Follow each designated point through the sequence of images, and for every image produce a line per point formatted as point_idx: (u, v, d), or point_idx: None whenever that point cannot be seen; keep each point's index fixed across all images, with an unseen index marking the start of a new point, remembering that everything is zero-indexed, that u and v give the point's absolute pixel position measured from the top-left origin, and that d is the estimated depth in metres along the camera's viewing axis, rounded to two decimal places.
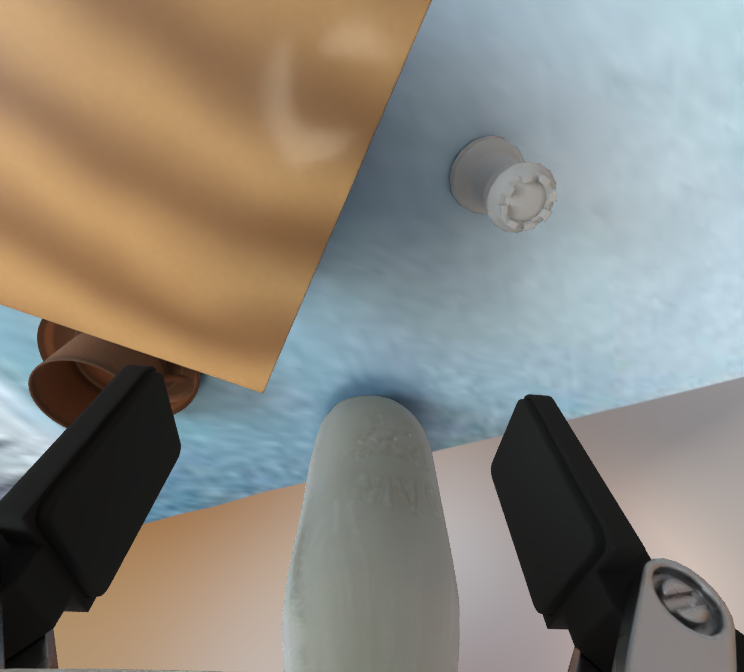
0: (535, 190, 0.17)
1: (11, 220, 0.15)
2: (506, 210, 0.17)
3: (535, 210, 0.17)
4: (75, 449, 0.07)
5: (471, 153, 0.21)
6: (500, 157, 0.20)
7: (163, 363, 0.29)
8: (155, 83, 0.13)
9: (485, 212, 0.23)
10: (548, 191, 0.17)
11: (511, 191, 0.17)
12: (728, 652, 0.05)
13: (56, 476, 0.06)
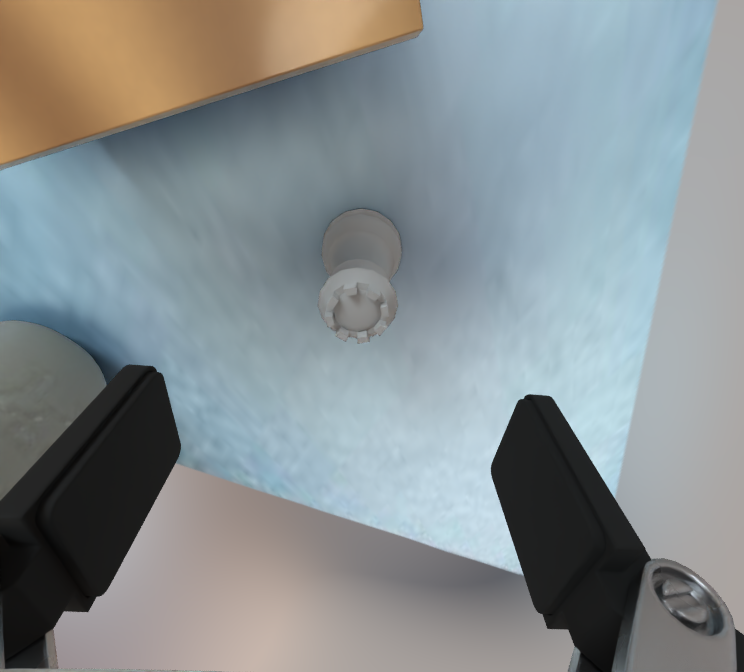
0: (372, 311, 0.15)
1: None
2: (334, 304, 0.14)
3: (359, 326, 0.15)
4: (75, 449, 0.07)
5: (364, 220, 0.18)
6: (379, 249, 0.18)
7: None
8: None
9: None
10: (381, 322, 0.15)
11: (351, 293, 0.14)
12: (728, 651, 0.05)
13: (56, 476, 0.06)
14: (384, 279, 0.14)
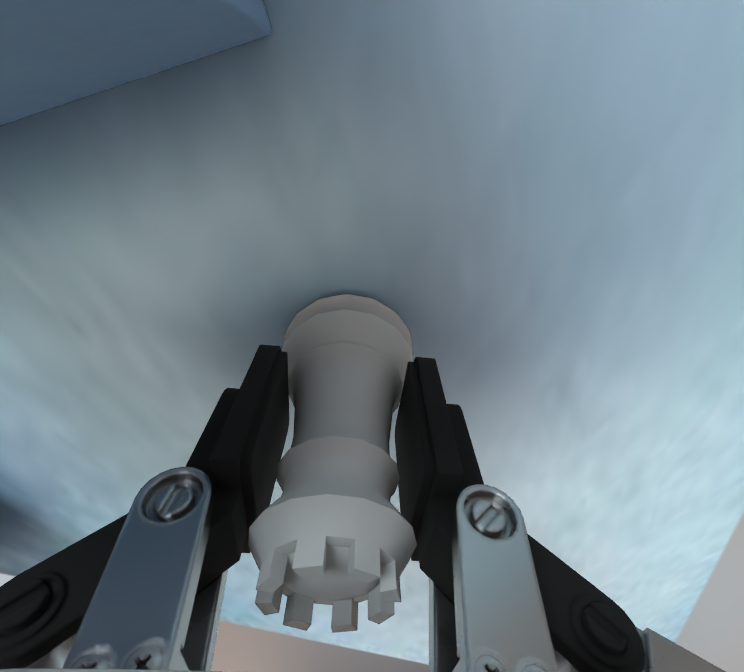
0: None
1: None
2: (274, 588, 0.06)
3: (334, 599, 0.07)
4: (251, 411, 0.08)
5: (350, 322, 0.11)
6: (377, 381, 0.10)
7: None
8: None
9: None
10: (381, 596, 0.07)
11: (312, 574, 0.06)
12: (524, 540, 0.06)
13: (247, 431, 0.07)
14: (389, 513, 0.07)
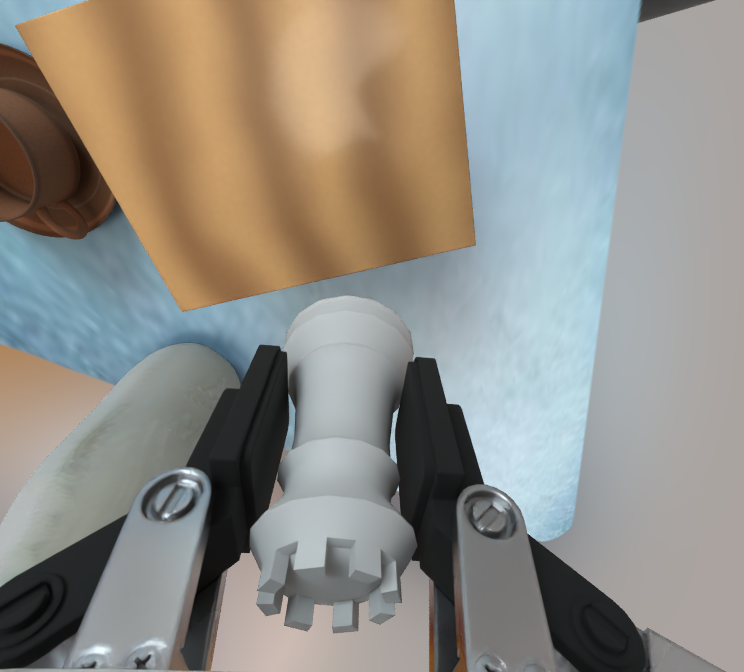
0: None
1: (140, 52, 0.16)
2: (275, 589, 0.06)
3: (335, 600, 0.07)
4: (251, 411, 0.08)
5: (351, 323, 0.11)
6: (378, 382, 0.10)
7: (73, 191, 0.26)
8: (334, 125, 0.17)
9: None
10: (382, 597, 0.07)
11: (313, 575, 0.06)
12: (524, 540, 0.06)
13: (247, 431, 0.07)
14: (389, 515, 0.07)
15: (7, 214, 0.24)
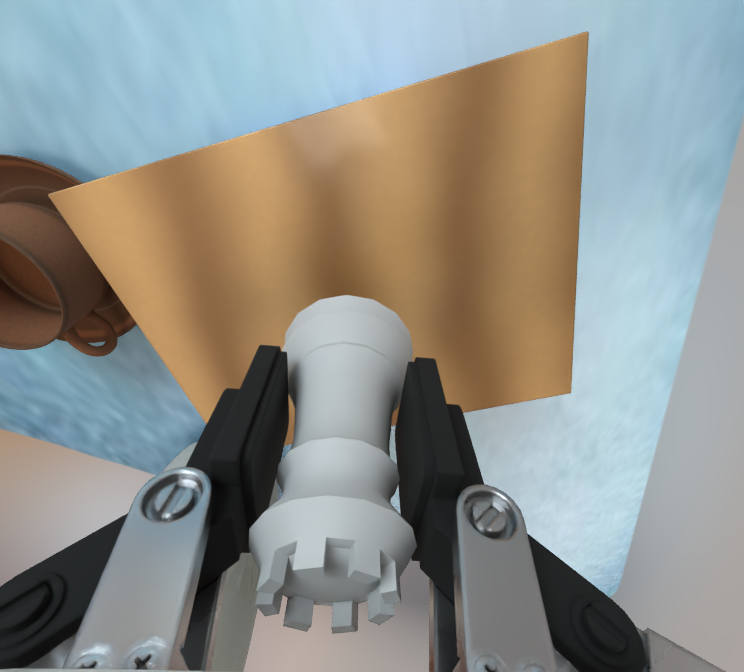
0: None
1: (195, 219, 0.13)
2: (274, 589, 0.06)
3: (335, 600, 0.07)
4: (251, 411, 0.08)
5: (350, 323, 0.11)
6: (377, 381, 0.10)
7: (101, 300, 0.24)
8: (420, 285, 0.15)
9: None
10: (381, 597, 0.07)
11: (313, 575, 0.06)
12: (524, 540, 0.06)
13: (247, 431, 0.07)
14: (389, 515, 0.07)
15: (31, 336, 0.22)
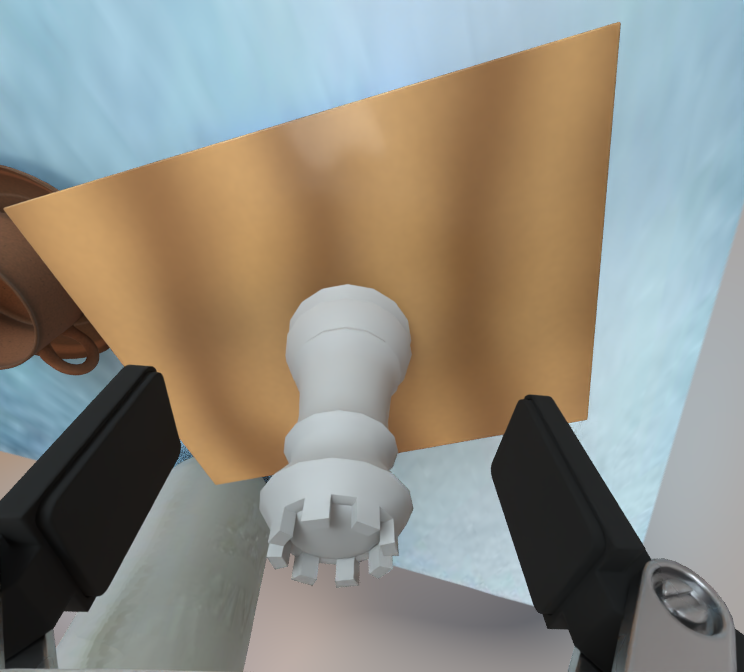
0: (363, 537, 0.07)
1: (171, 235, 0.12)
2: (284, 541, 0.07)
3: (338, 557, 0.08)
4: (75, 449, 0.07)
5: (352, 310, 0.11)
6: (377, 364, 0.11)
7: (82, 315, 0.22)
8: (423, 306, 0.13)
9: None
10: (381, 553, 0.07)
11: (319, 526, 0.06)
12: (728, 652, 0.05)
13: (56, 476, 0.06)
14: (387, 476, 0.07)
15: (4, 355, 0.21)
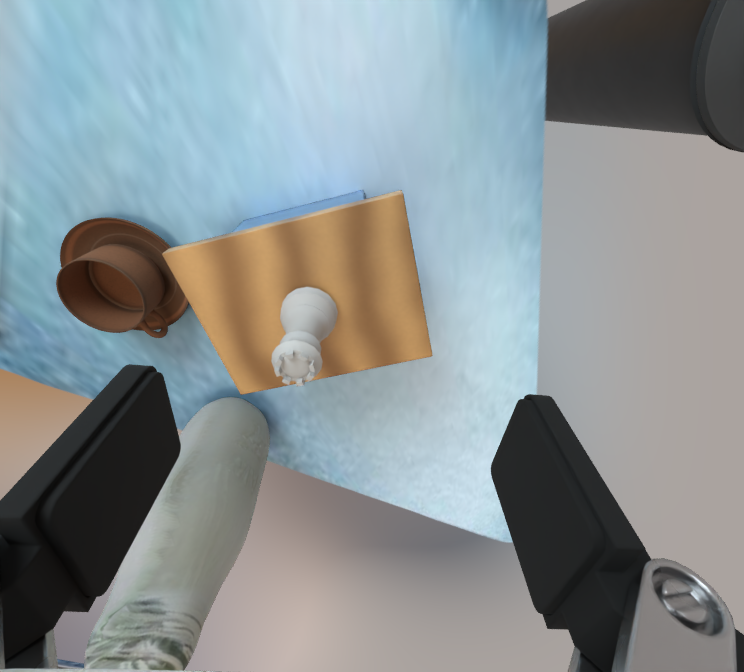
0: (304, 366, 0.23)
1: (231, 265, 0.28)
2: (279, 363, 0.23)
3: (297, 375, 0.23)
4: (75, 449, 0.07)
5: (308, 297, 0.27)
6: (317, 318, 0.26)
7: (159, 303, 0.38)
8: (343, 297, 0.29)
9: None
10: (310, 373, 0.23)
11: (290, 357, 0.22)
12: (728, 652, 0.05)
13: (56, 476, 0.06)
14: (312, 347, 0.23)
15: (118, 325, 0.36)
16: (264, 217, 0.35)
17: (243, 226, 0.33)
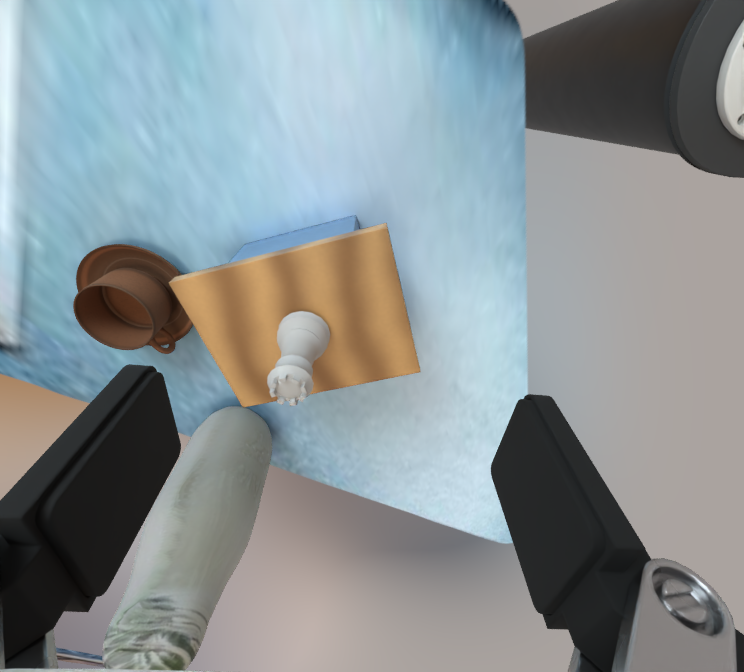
0: (297, 388, 0.26)
1: (232, 292, 0.30)
2: (274, 386, 0.25)
3: (290, 396, 0.26)
4: (75, 449, 0.07)
5: (301, 321, 0.29)
6: (309, 342, 0.29)
7: (167, 321, 0.41)
8: (335, 319, 0.31)
9: None
10: (302, 394, 0.26)
11: (283, 380, 0.25)
12: (727, 651, 0.05)
13: (56, 476, 0.06)
14: (303, 370, 0.25)
15: (130, 342, 0.39)
16: (263, 241, 0.37)
17: (243, 251, 0.36)
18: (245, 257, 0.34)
